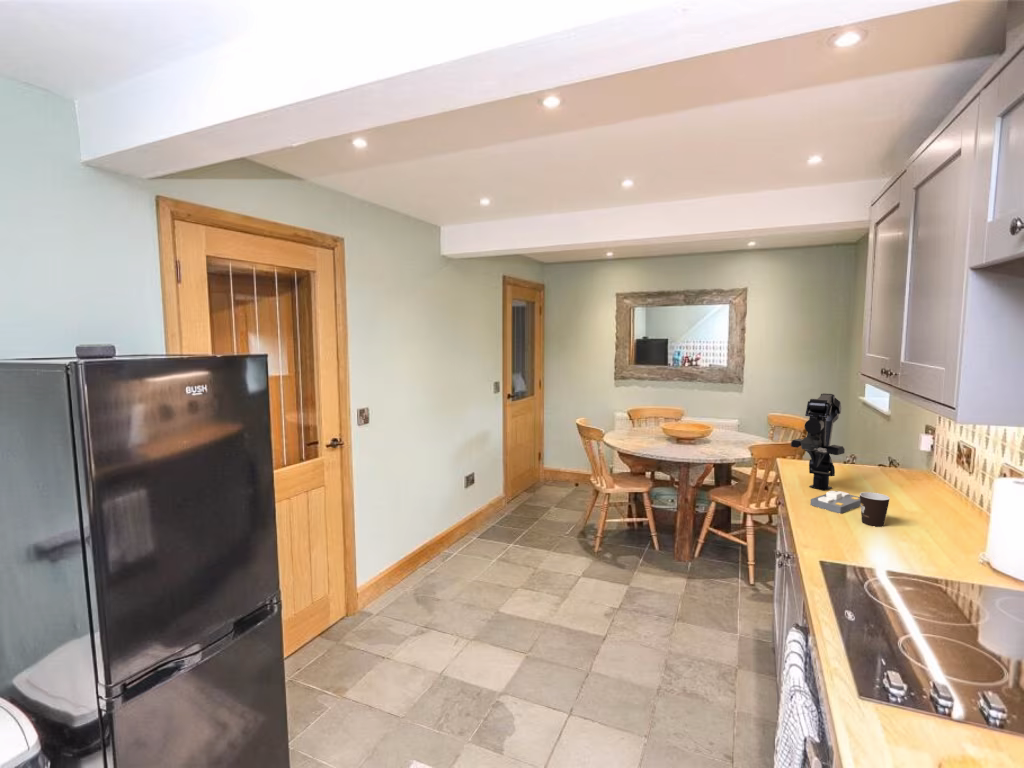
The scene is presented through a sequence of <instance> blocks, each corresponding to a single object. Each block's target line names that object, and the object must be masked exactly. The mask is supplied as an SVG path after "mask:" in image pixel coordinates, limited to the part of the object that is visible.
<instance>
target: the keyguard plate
mask: <svg viewBox="0 0 1024 768" xmlns="http://www.w3.org/2000/svg"><path fill="white" fill-rule="evenodd" d="M834 491H835V492H838V490H834ZM823 496H824V497H826V493H825V494H822V495H819V496H816V497H813V498H810V506H811V505H812V507H815V506H816V507H815V508H818V507H819V508H818V509H822V510H825V509H826V510H825V511H830V512H832V513H836V514H839V513H840V515H841V514H843V513H846V512H848V511H852V510H853V509H857V508H860V507H861V504H860V496H857V495H855V494H854V495H853V494H850V493H849V496H848V497H842V499H839V500H834V501H833V502H830V503H826V502H823V501H819V500H818V498H820V497H823ZM859 506H860V507H859Z"/></svg>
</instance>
